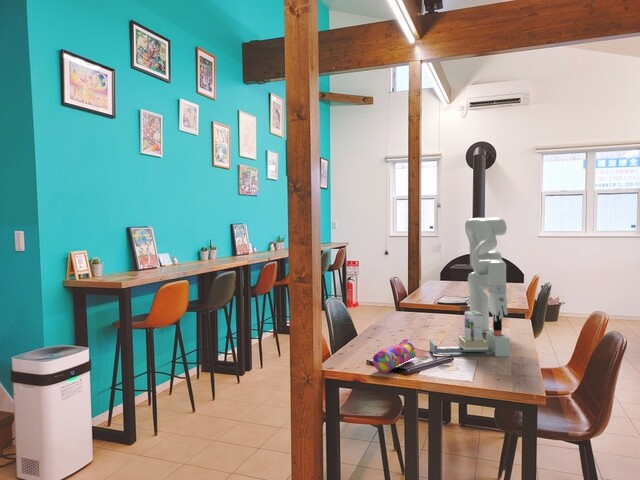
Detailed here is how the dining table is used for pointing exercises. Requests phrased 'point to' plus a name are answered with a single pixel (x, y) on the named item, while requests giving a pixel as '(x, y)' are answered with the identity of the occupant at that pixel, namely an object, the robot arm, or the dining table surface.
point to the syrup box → (473, 326)
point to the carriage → (472, 345)
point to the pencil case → (393, 356)
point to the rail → (457, 351)
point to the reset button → (497, 333)
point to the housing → (498, 344)
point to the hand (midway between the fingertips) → (497, 330)
